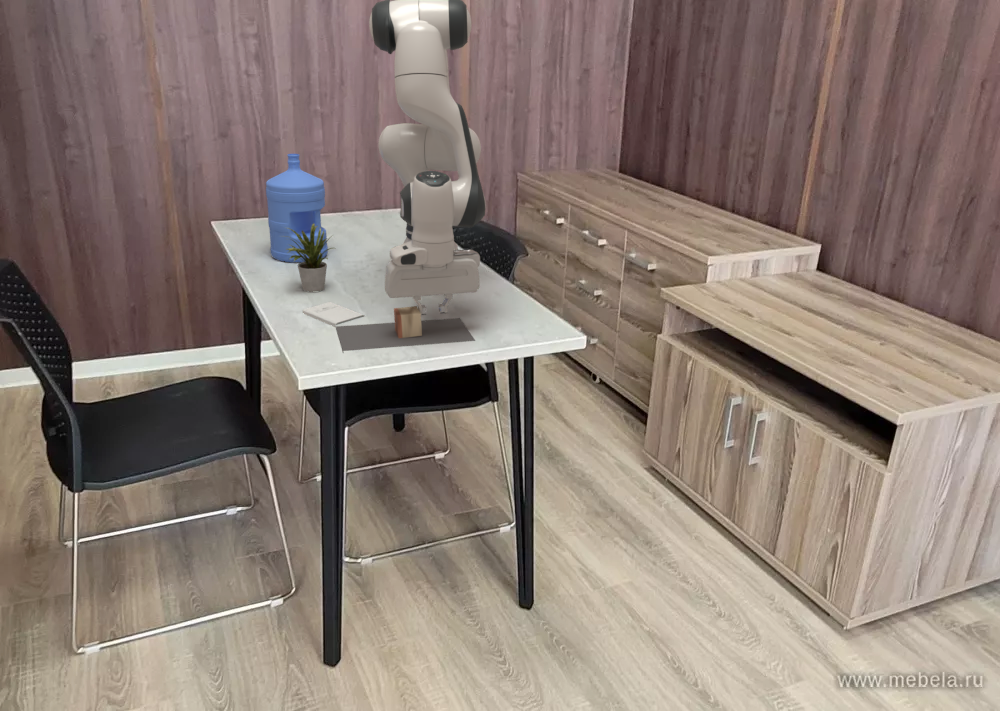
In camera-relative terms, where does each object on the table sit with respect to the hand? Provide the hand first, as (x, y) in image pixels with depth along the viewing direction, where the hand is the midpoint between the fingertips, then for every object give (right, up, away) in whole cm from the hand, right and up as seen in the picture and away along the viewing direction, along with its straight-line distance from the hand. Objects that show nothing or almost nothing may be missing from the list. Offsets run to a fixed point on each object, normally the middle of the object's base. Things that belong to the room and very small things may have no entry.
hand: (432, 313), depth 177 cm
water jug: (-42, +19, +54) cm, 71 cm away
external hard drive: (-24, -1, +10) cm, 26 cm away
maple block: (-3, -2, 0) cm, 3 cm away
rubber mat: (-6, -5, 0) cm, 8 cm away
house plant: (-33, +8, +28) cm, 44 cm away
